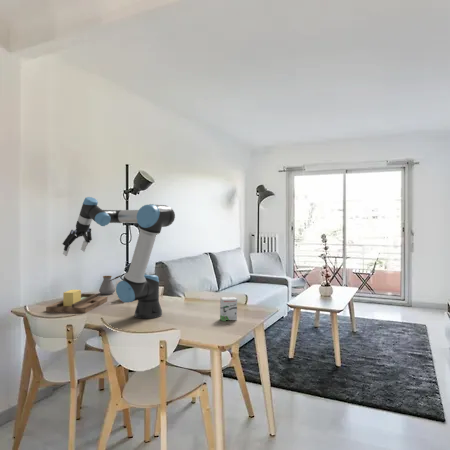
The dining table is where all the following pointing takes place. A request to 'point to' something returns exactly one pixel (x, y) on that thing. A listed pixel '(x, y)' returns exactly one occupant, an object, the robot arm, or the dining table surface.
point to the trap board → (78, 304)
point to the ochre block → (71, 297)
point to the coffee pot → (108, 285)
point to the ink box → (228, 308)
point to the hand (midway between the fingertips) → (73, 252)
